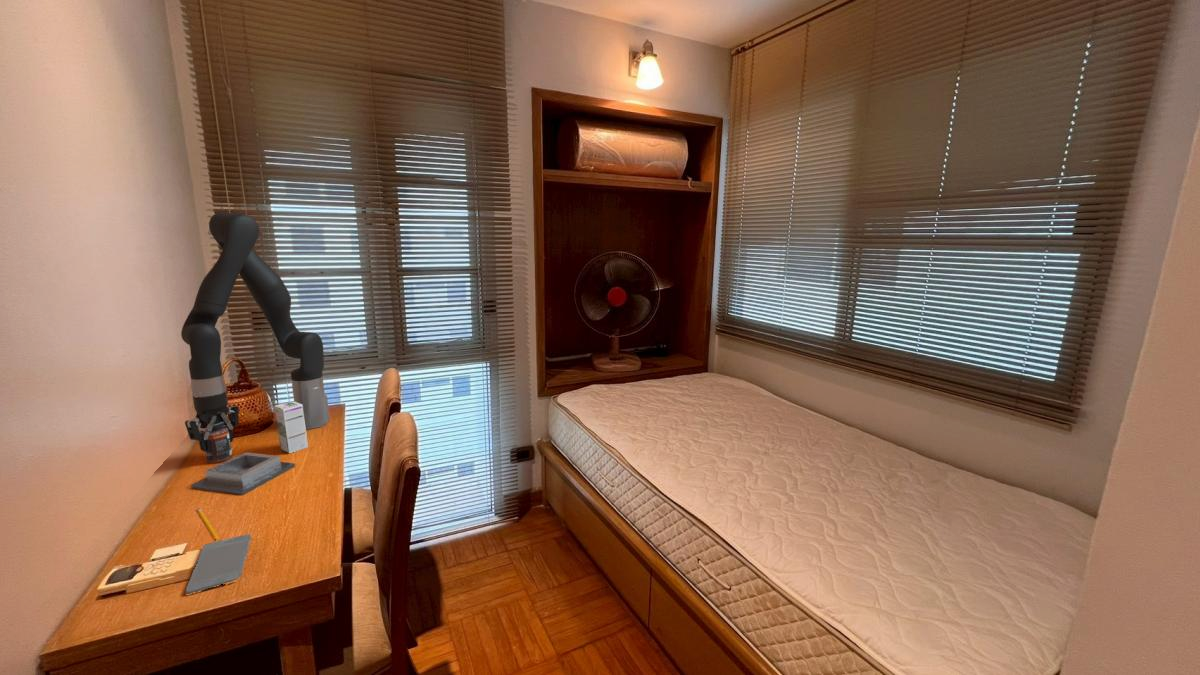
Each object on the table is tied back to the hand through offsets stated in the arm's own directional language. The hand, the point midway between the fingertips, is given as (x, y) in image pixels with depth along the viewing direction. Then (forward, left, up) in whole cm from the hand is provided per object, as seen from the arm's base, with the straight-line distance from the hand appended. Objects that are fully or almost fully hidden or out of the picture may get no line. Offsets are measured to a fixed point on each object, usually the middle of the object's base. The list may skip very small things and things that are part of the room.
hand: (217, 446), depth 137 cm
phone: (+37, +45, -5) cm, 59 cm away
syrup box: (-11, +15, -4) cm, 19 cm away
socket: (+7, +17, -4) cm, 19 cm away
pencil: (+27, +29, -5) cm, 40 cm away
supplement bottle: (0, 0, -4) cm, 4 cm away
